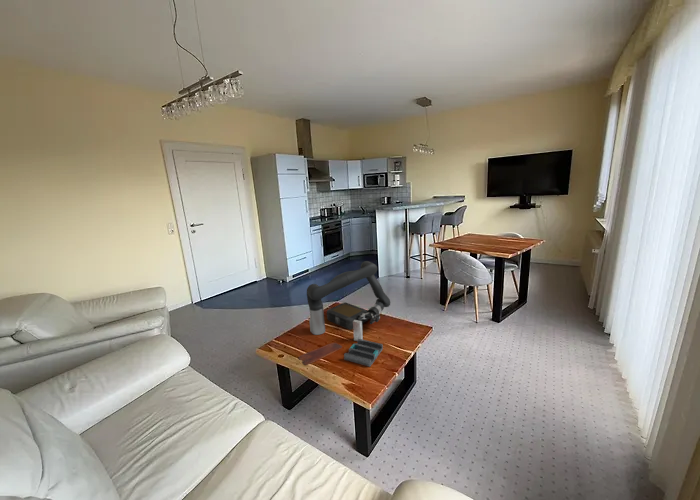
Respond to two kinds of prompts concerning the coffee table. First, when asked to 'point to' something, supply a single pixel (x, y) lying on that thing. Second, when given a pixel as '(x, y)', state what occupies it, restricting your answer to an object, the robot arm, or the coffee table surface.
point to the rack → (363, 352)
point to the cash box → (345, 315)
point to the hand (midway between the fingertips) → (364, 321)
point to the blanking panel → (357, 330)
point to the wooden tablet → (319, 353)
